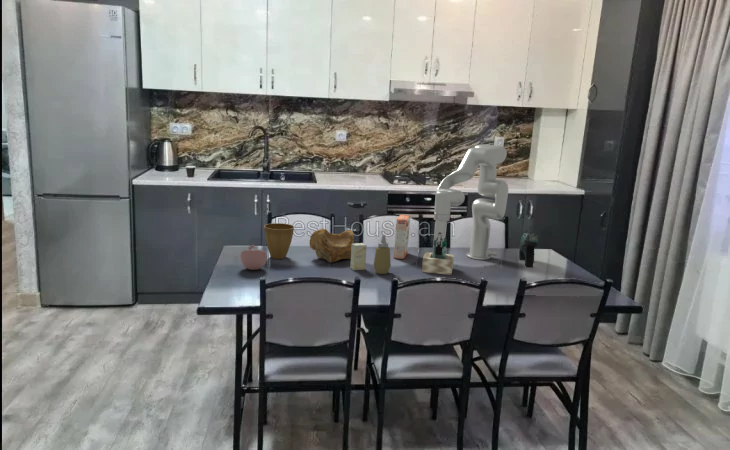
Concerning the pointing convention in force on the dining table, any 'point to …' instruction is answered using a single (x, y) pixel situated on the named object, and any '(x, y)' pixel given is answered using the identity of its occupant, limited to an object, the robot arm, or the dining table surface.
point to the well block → (437, 264)
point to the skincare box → (358, 256)
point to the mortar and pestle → (253, 258)
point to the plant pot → (278, 239)
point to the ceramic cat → (528, 248)
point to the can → (442, 249)
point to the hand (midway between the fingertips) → (439, 252)
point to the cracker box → (402, 236)
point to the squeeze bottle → (382, 257)
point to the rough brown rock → (332, 245)
